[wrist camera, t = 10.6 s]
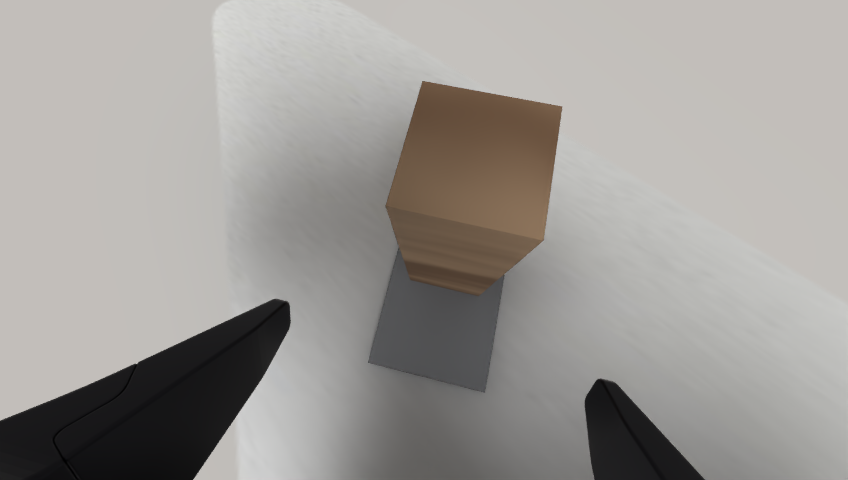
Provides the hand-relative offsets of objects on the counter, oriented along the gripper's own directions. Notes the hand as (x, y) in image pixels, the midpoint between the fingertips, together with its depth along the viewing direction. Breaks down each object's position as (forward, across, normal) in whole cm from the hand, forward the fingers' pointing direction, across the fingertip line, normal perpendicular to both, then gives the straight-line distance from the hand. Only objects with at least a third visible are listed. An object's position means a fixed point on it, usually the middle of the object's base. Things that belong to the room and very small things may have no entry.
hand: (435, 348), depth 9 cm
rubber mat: (+10, 0, +5) cm, 12 cm away
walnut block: (+11, 0, +4) cm, 12 cm away
